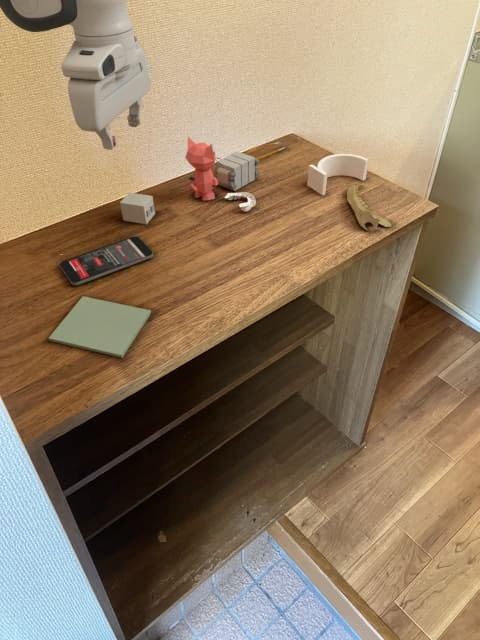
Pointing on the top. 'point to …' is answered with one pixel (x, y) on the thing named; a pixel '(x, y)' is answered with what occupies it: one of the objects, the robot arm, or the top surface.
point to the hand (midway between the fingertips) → (123, 136)
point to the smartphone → (105, 260)
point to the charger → (137, 208)
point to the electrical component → (239, 169)
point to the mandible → (363, 209)
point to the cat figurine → (202, 169)
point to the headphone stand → (336, 170)
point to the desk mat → (101, 326)
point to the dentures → (240, 195)
